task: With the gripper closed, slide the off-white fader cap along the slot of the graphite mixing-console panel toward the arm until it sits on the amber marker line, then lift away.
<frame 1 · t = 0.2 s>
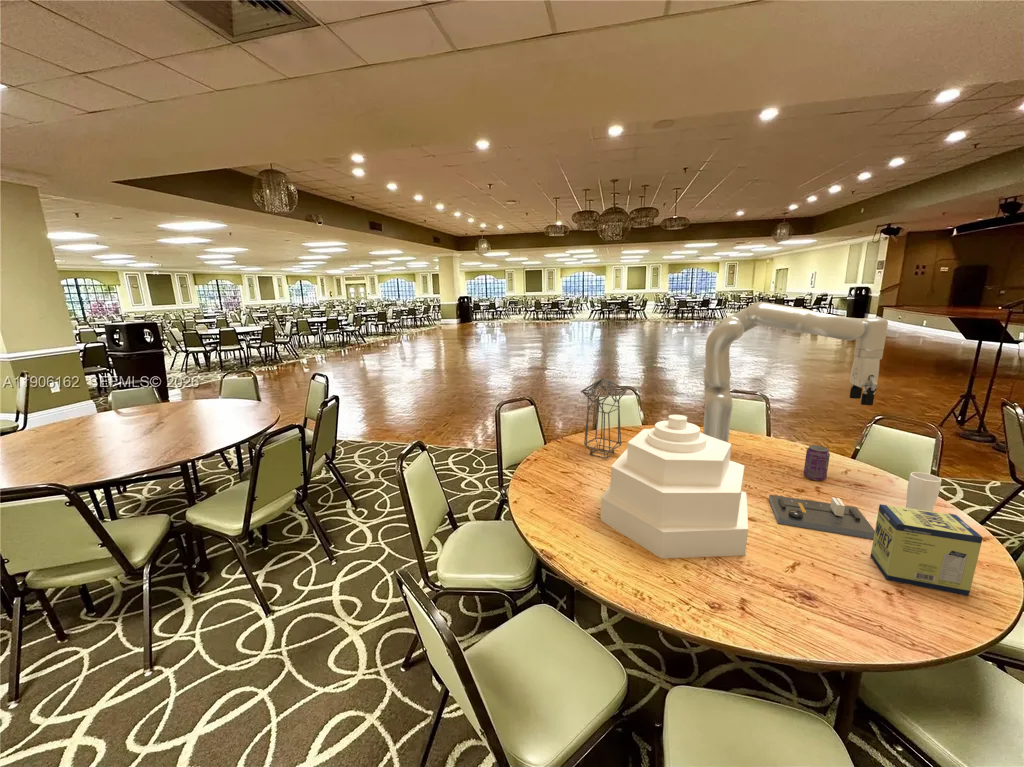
hand: (860, 401, 146), 31 cm above the table, fingers open, 9 cm apart
geometric lantern: (601, 455, 183), on the table
console: (817, 518, 129), on the table
beverage can: (814, 478, 157), on the table
tiered cake: (672, 518, 131), on the table
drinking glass: (916, 522, 126), on the table
protein box: (915, 576, 103), on the table
fader: (837, 506, 128), point 4 cm above the table, slide at 5.0 cm
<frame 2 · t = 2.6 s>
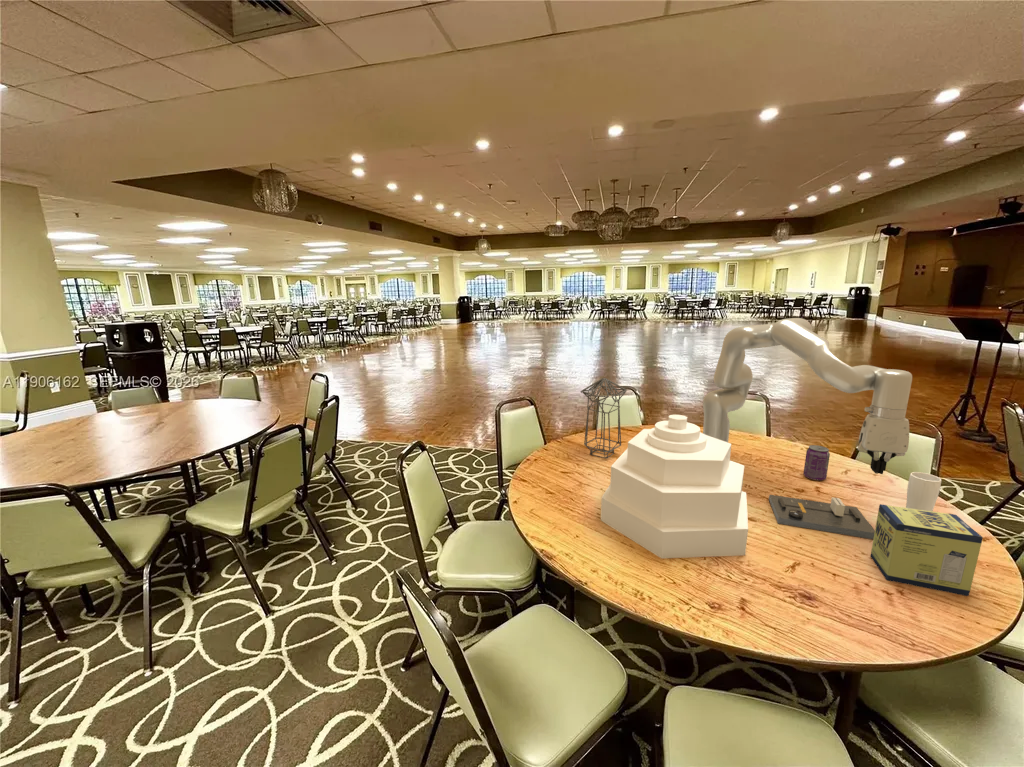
hand: (877, 471, 122), 17 cm above the table, fingers closed
nothing on the table moved.
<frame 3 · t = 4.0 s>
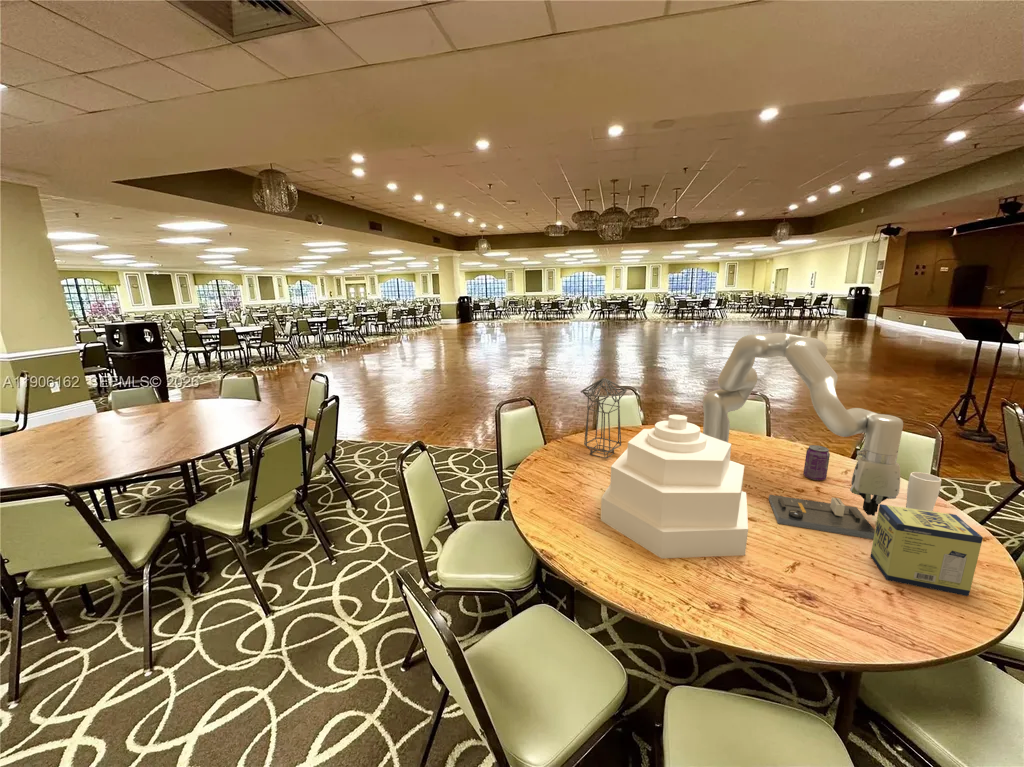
hand: (869, 513, 125), 4 cm above the table, fingers closed
nothing on the table moved.
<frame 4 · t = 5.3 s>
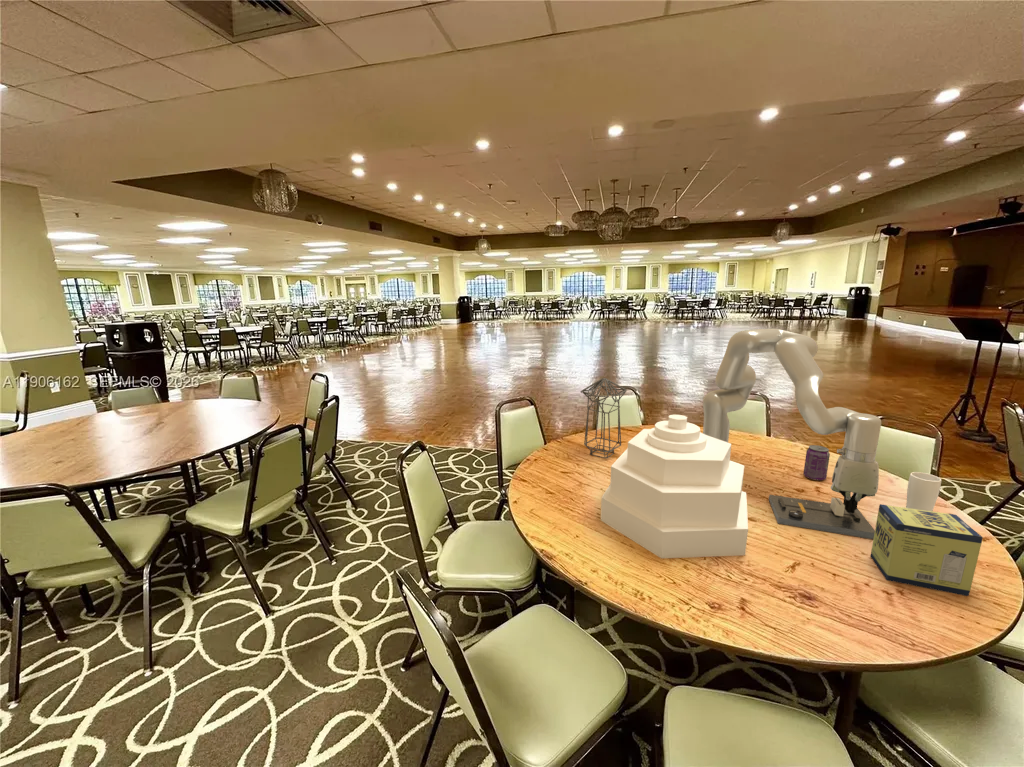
hand: (849, 510, 127), 3 cm above the table, fingers closed
fader: (837, 506, 128), point 4 cm above the table, slide at 5.0 cm, touching gripper
everything else where it was.
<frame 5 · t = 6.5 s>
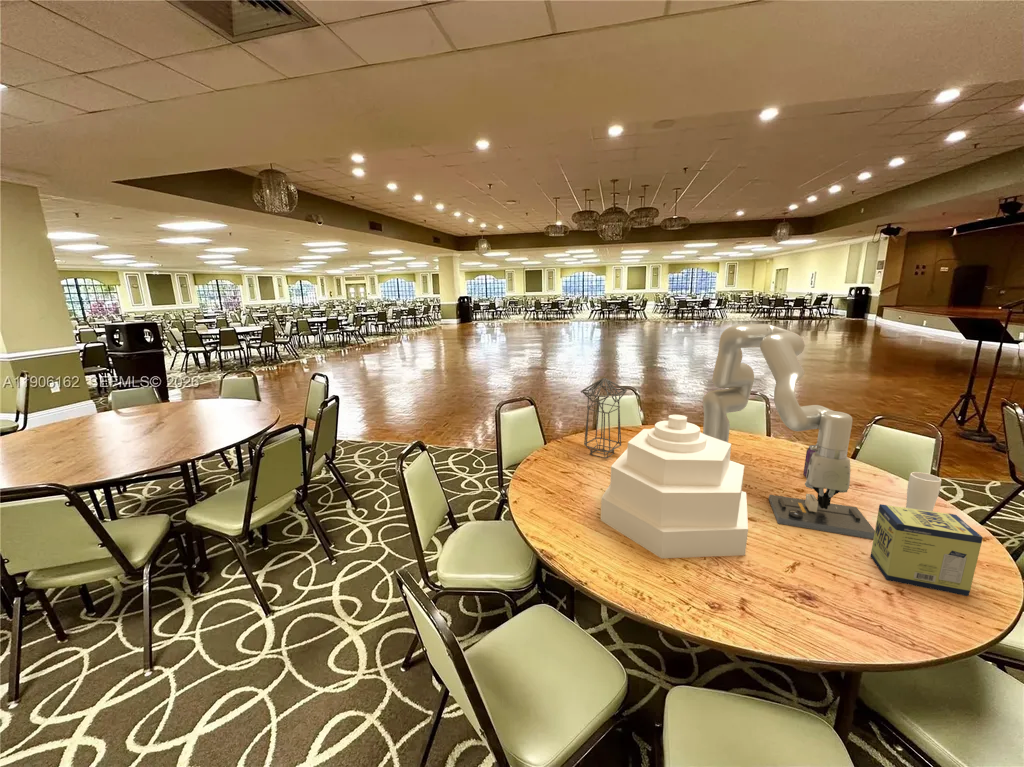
hand: (822, 506, 129), 3 cm above the table, fingers closed
fader: (811, 502, 130), point 4 cm above the table, slide at -1.7 cm, touching gripper
everything else where it was.
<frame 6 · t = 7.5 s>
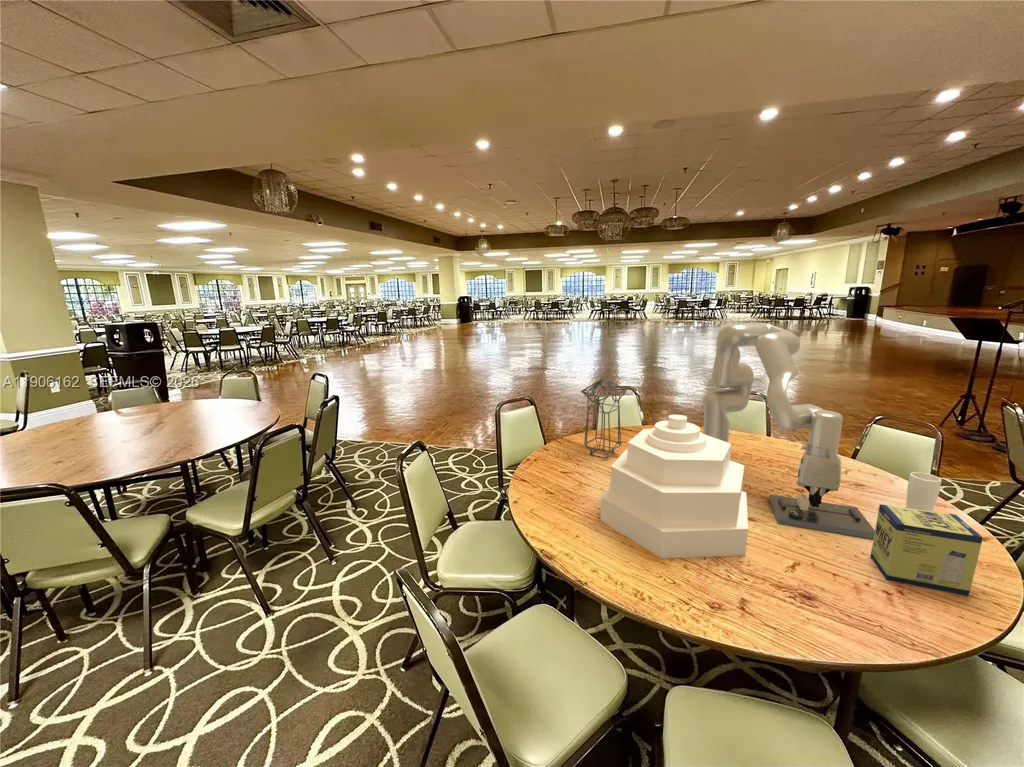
hand: (814, 505, 130), 3 cm above the table, fingers closed
fader: (802, 501, 131), point 4 cm above the table, slide at -4.0 cm, touching gripper
everything else where it was.
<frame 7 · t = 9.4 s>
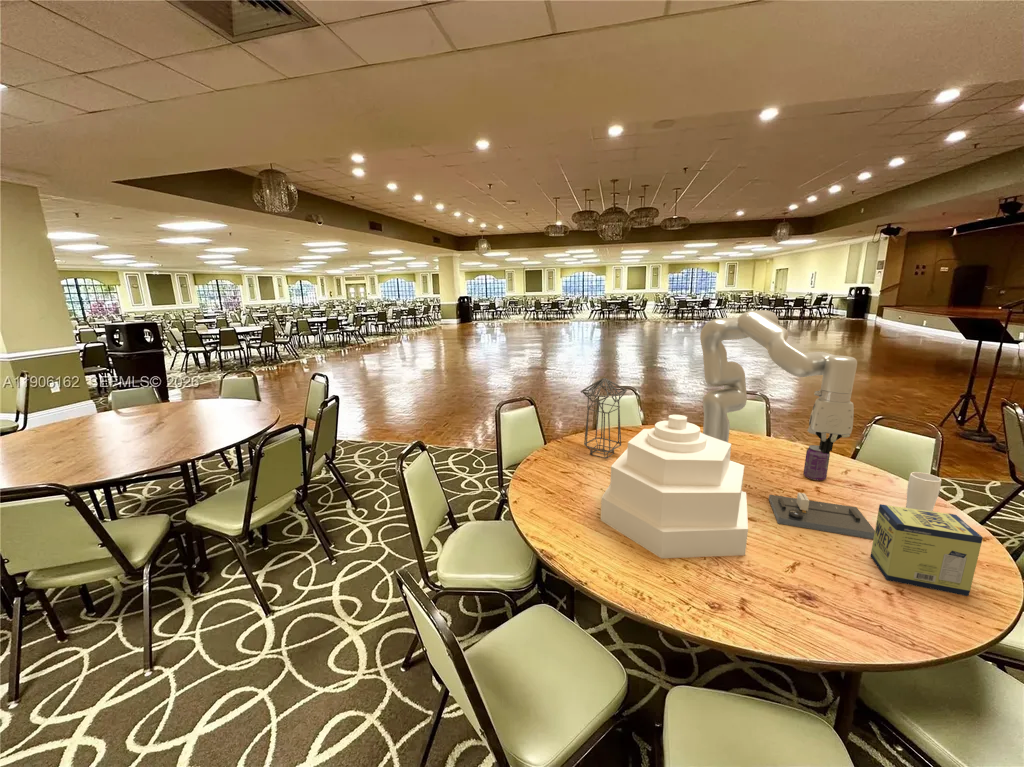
hand: (824, 452, 130), 20 cm above the table, fingers closed
fader: (802, 501, 131), point 4 cm above the table, slide at -4.0 cm
everything else where it was.
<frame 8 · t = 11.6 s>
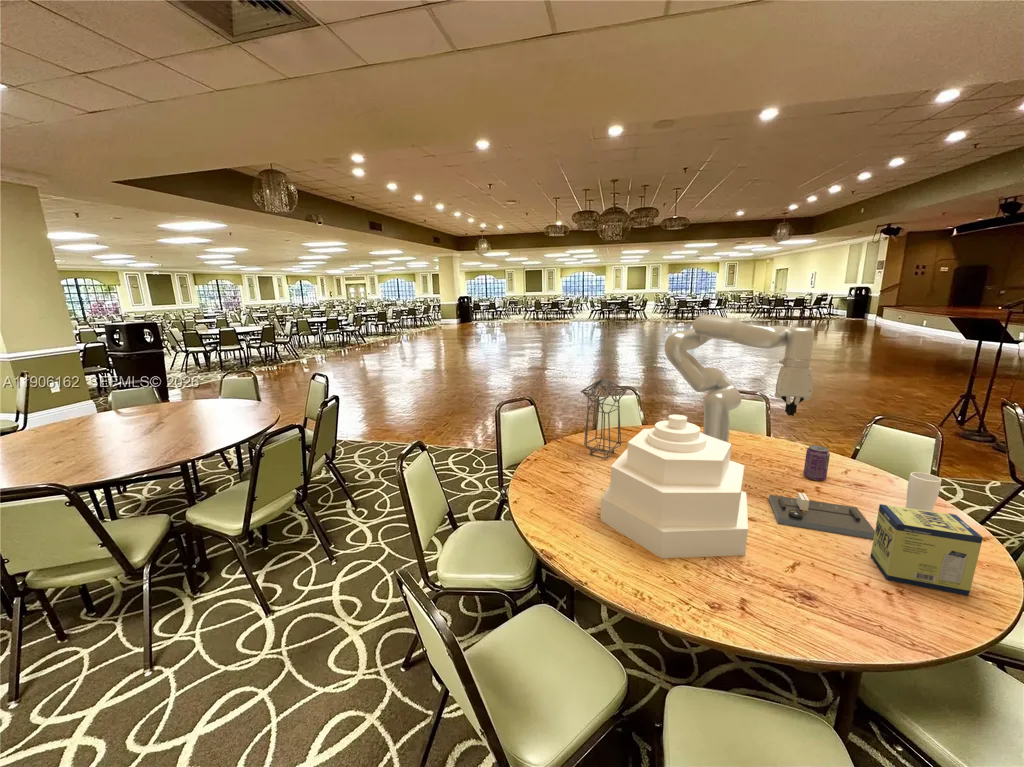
hand: (790, 414, 145), 27 cm above the table, fingers closed
nothing on the table moved.
at the end: fader slide at -4.0 cm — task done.
